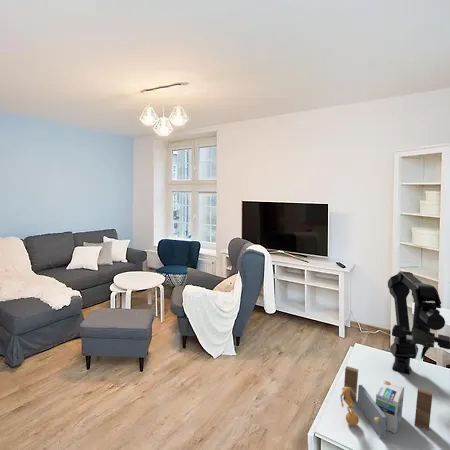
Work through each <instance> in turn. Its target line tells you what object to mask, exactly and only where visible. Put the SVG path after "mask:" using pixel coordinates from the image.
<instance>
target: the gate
mask: <svg viewBox="0 0 450 450" xmlns="http://www.w3.org/2000/svg"><path fill="white" fill-rule="evenodd" d="M356 403H357V405H358V406H359V409H361V411H362V412H363V414H364V415H365V416H366V418H367V420H368V421H369V423H370V424H371V425H372V427H373V428H374V430H375V432H376V433H377V434H378V436H379V438H380V439H385V438H386V429H385V428H386V416H385V415H384V413H383V412H382V411H381V409H380V408H379V407H378V405H377V404H376V400H374V399H373V397H372V396H371V395H370V393H369V392H368V390H367V389H366V388H365V387H364V385H362V384H358V386H357V400H356Z"/></svg>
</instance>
